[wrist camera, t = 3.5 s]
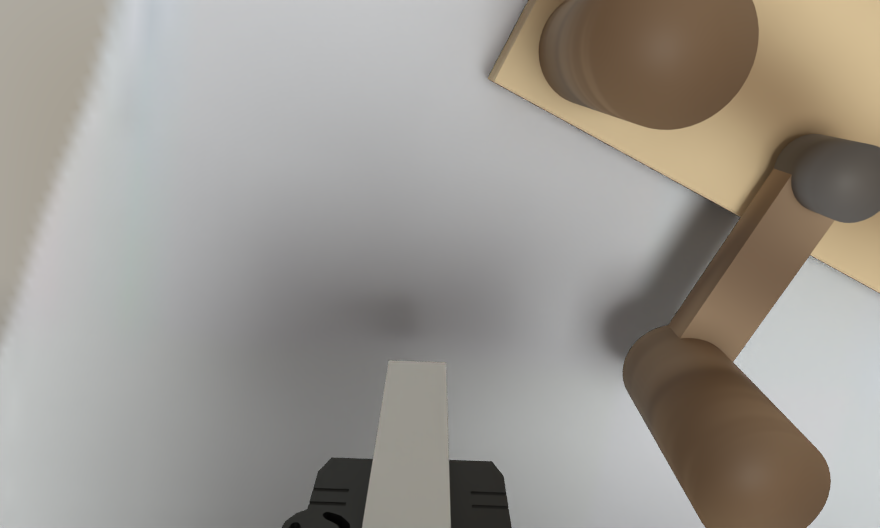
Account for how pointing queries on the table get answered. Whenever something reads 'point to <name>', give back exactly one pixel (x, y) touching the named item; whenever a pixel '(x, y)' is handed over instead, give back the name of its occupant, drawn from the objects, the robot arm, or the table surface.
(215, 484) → the table surface
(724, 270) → the hinged leg
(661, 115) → the stool seat
